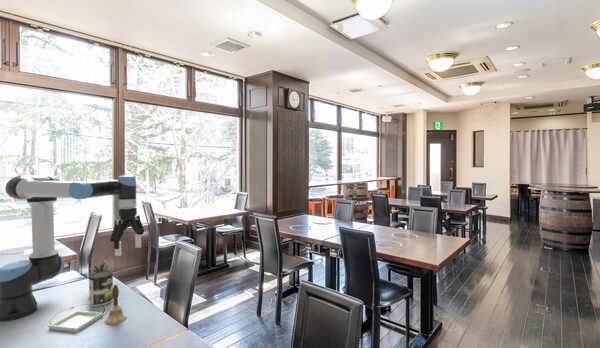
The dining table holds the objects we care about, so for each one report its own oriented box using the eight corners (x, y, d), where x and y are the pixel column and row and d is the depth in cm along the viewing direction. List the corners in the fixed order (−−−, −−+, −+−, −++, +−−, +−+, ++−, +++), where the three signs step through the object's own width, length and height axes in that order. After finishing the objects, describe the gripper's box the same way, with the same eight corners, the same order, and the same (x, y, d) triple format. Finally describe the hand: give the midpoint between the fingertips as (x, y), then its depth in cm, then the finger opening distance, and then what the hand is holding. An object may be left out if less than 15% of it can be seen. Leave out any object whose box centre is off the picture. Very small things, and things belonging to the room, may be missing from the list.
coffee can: (118, 298, 159) (117, 271, 158) (101, 307, 149) (100, 278, 148) (101, 296, 161) (100, 270, 160) (84, 305, 151) (83, 277, 150)
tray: (49, 329, 129) (48, 325, 129) (77, 314, 142) (77, 310, 142) (76, 332, 126) (76, 328, 126) (103, 316, 140) (102, 312, 140)
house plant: (90, 286, 173) (89, 258, 173) (117, 283, 178) (117, 256, 177) (80, 297, 160) (79, 266, 159) (110, 293, 164) (109, 264, 163)
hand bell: (130, 316, 140) (130, 282, 139) (115, 326, 132) (114, 289, 131) (116, 314, 142) (115, 280, 141) (100, 323, 134) (99, 287, 133)
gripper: (115, 212, 133) (116, 259, 134) (151, 204, 158) (152, 244, 159) (99, 211, 134) (101, 258, 135) (138, 204, 159) (139, 244, 160)
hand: (128, 251), depth 147 cm, fingers open, 13 cm apart
